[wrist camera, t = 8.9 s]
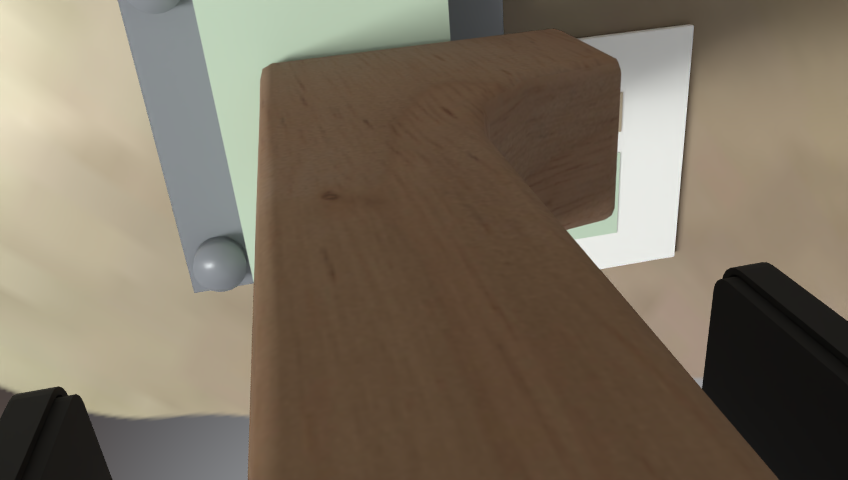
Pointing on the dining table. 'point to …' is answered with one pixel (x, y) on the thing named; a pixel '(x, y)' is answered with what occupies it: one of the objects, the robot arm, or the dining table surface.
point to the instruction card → (644, 146)
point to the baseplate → (202, 129)
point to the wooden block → (457, 278)
